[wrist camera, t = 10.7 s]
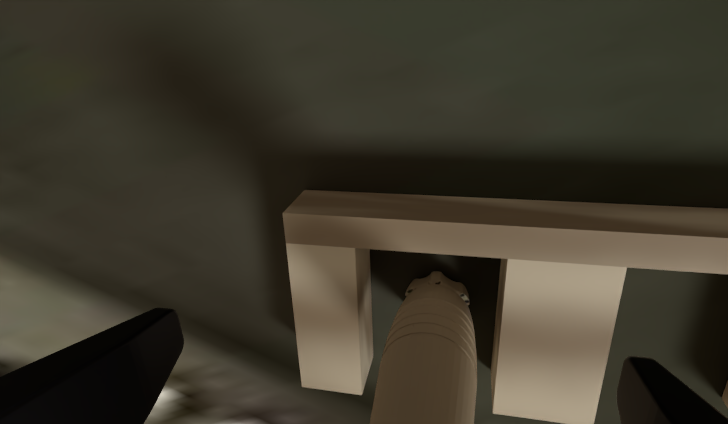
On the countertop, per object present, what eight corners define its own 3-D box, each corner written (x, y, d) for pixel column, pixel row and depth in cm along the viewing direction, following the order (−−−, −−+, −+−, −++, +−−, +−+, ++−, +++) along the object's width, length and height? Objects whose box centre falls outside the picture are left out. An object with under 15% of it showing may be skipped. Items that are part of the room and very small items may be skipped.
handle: (450, 226, 22) (413, 549, 9) (509, 328, 24) (553, 734, 11) (367, 263, 24) (233, 577, 11) (426, 355, 26) (374, 732, 12)
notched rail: (798, 407, 22) (843, 462, 20) (318, 349, 27) (301, 386, 25) (882, 215, 18) (952, 250, 16) (304, 189, 23) (282, 212, 21)
